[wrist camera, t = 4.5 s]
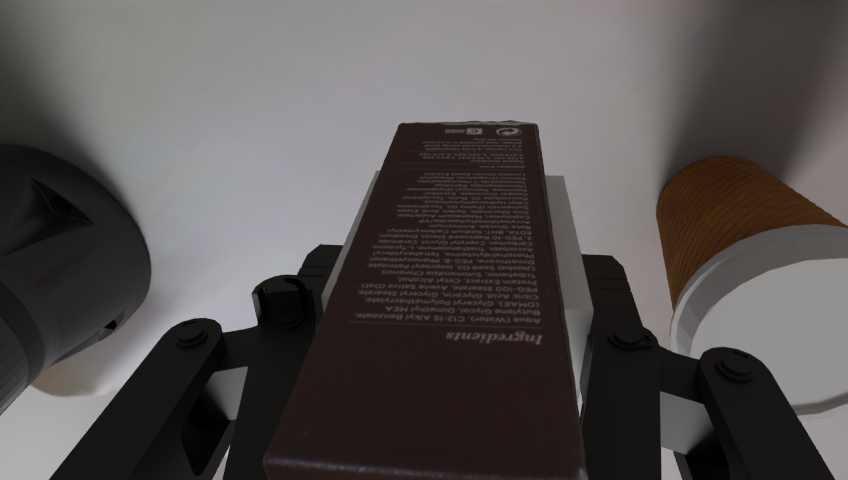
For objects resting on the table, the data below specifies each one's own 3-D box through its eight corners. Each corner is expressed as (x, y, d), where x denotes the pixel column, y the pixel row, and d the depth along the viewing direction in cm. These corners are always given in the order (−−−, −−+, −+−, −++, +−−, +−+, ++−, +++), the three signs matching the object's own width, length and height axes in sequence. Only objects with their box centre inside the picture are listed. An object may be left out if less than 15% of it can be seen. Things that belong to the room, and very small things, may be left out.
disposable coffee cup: (708, 94, 29) (812, 201, 19) (846, 183, 31) (1010, 325, 21) (593, 227, 34) (628, 368, 24) (717, 298, 36) (799, 459, 26)
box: (387, 120, 17) (245, 461, 7) (539, 119, 17) (629, 481, 6) (399, 283, 20) (315, 683, 10) (528, 285, 20) (576, 706, 10)
